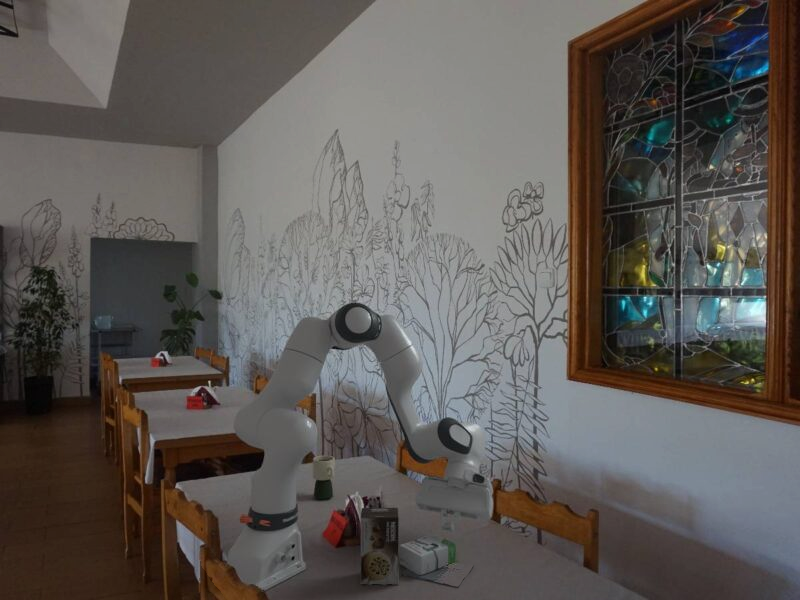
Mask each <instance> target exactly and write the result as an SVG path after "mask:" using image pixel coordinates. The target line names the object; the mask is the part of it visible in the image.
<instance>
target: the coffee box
mask: <svg viewBox="0 0 800 600" xmlns="http://www.w3.org/2000/svg"><path fill="white" fill-rule="evenodd" d="M399 525H400V514H399V508H398V507H362V508H361V511H360V581H359V584H361V586H363V585H362V584H367V585H366V586H373V585H372V584H382V586H383V585H387V584H392V585H399V582H400V580H399V577H400V575H399V572H400V571H399V567H400V566H399V564H400V563H399V553H400V544H399V540H400V539H399V537H400V536H399V535H400V534H399V531H400V530H399V529H400V526H399Z"/></svg>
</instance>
